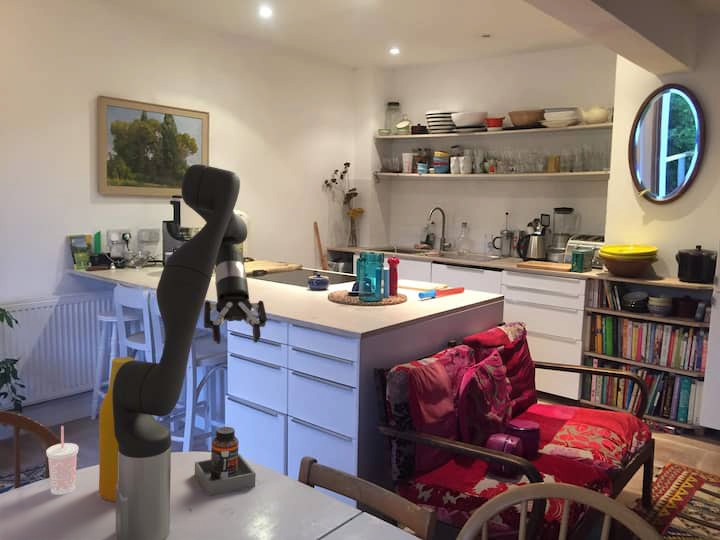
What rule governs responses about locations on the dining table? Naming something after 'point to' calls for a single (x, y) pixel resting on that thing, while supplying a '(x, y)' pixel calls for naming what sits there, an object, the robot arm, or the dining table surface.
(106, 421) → the yellow bottle
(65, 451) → the beverage cup
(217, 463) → the supplement bottle
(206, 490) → the tray
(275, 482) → the dining table surface
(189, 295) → the robot arm
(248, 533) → the dining table surface
